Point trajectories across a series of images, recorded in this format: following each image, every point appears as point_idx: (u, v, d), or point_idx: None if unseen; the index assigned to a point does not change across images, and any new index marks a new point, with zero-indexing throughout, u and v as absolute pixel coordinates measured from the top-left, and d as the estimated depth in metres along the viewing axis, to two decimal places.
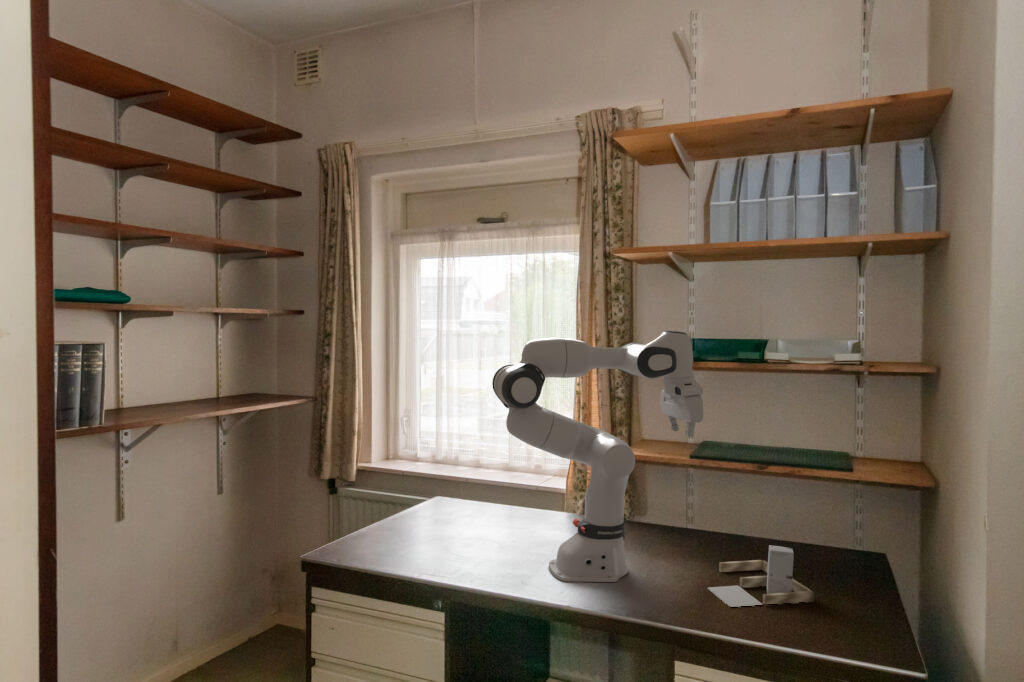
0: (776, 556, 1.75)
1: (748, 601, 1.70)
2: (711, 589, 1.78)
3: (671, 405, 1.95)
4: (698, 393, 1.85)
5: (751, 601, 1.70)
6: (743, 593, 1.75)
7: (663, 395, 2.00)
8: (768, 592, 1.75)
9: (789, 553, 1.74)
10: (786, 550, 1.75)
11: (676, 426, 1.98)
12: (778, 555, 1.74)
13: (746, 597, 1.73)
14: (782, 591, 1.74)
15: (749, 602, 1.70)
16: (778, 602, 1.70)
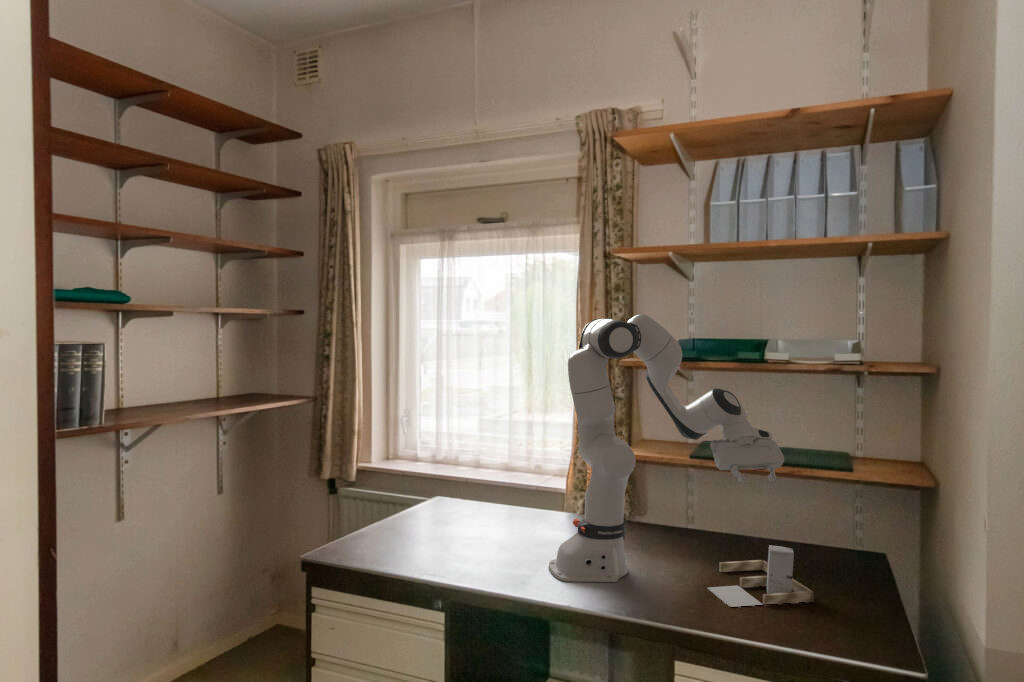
0: (776, 556, 1.75)
1: (748, 601, 1.70)
2: (711, 589, 1.78)
3: (743, 452, 1.90)
4: None
5: (751, 601, 1.70)
6: (743, 593, 1.75)
7: (724, 445, 1.91)
8: (768, 592, 1.75)
9: (789, 553, 1.74)
10: (786, 550, 1.75)
11: None
12: (778, 555, 1.74)
13: (746, 597, 1.73)
14: (782, 591, 1.74)
15: (749, 602, 1.70)
16: (778, 602, 1.70)
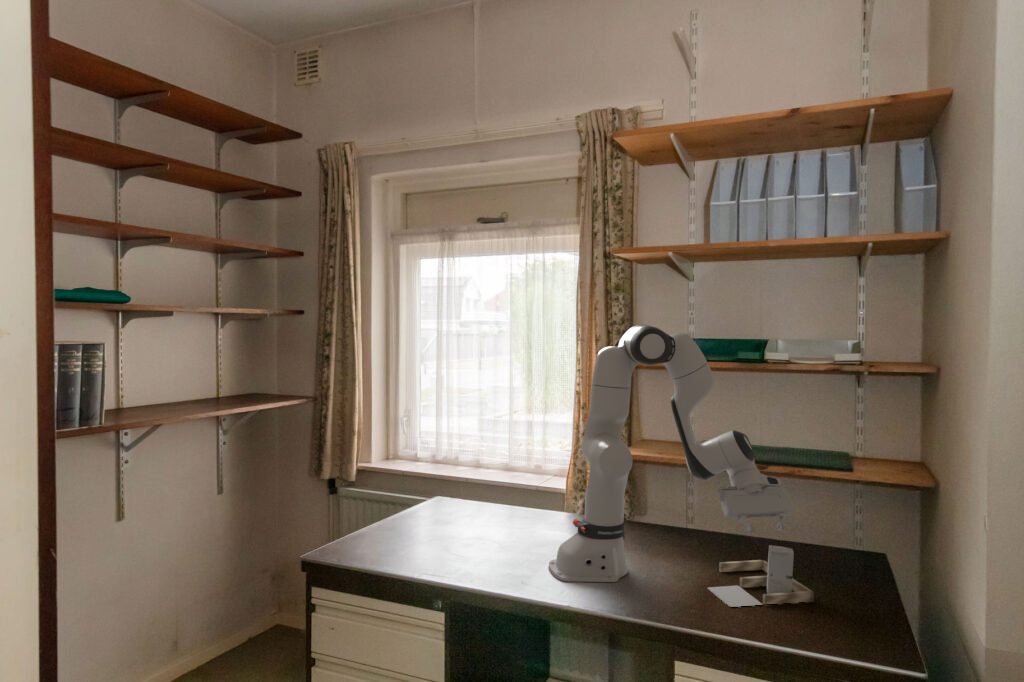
0: (776, 556, 1.75)
1: (748, 601, 1.70)
2: (711, 589, 1.78)
3: (752, 501, 1.86)
4: None
5: (751, 601, 1.70)
6: (743, 593, 1.75)
7: (732, 493, 1.87)
8: (768, 592, 1.75)
9: (789, 553, 1.74)
10: (786, 550, 1.75)
11: None
12: (778, 555, 1.74)
13: (746, 597, 1.73)
14: (782, 591, 1.74)
15: (749, 602, 1.70)
16: (778, 602, 1.70)
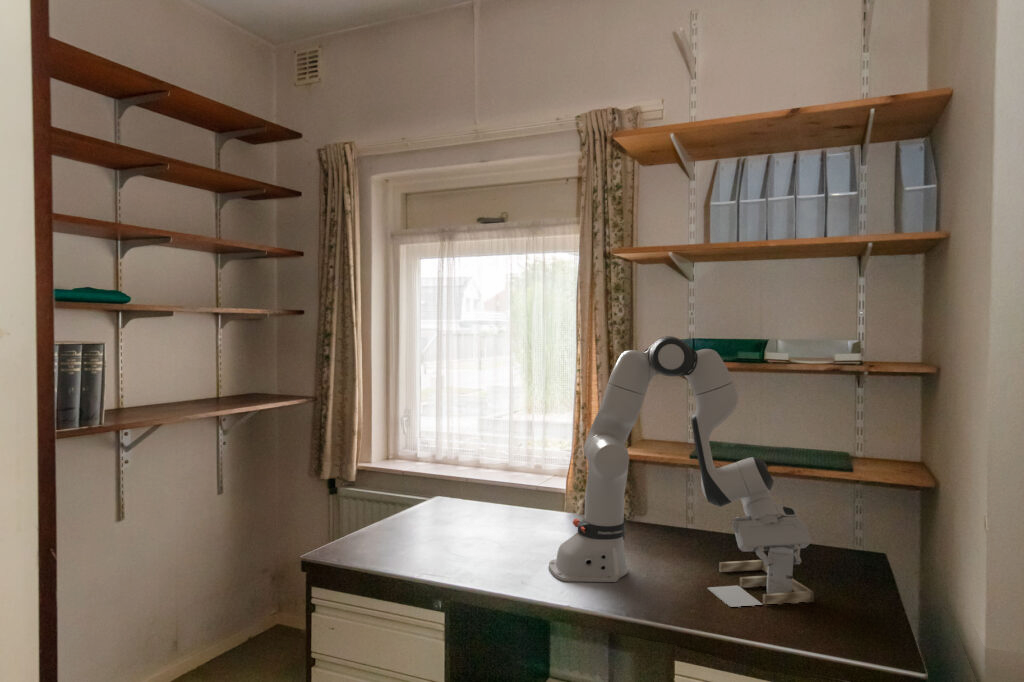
0: (776, 556, 1.75)
1: (748, 601, 1.70)
2: (711, 589, 1.78)
3: (768, 532, 1.78)
4: None
5: (751, 601, 1.70)
6: (743, 593, 1.75)
7: (747, 524, 1.79)
8: (768, 592, 1.75)
9: (789, 553, 1.74)
10: (786, 550, 1.75)
11: None
12: (778, 555, 1.74)
13: (746, 597, 1.73)
14: (782, 591, 1.74)
15: (749, 602, 1.70)
16: (778, 602, 1.70)
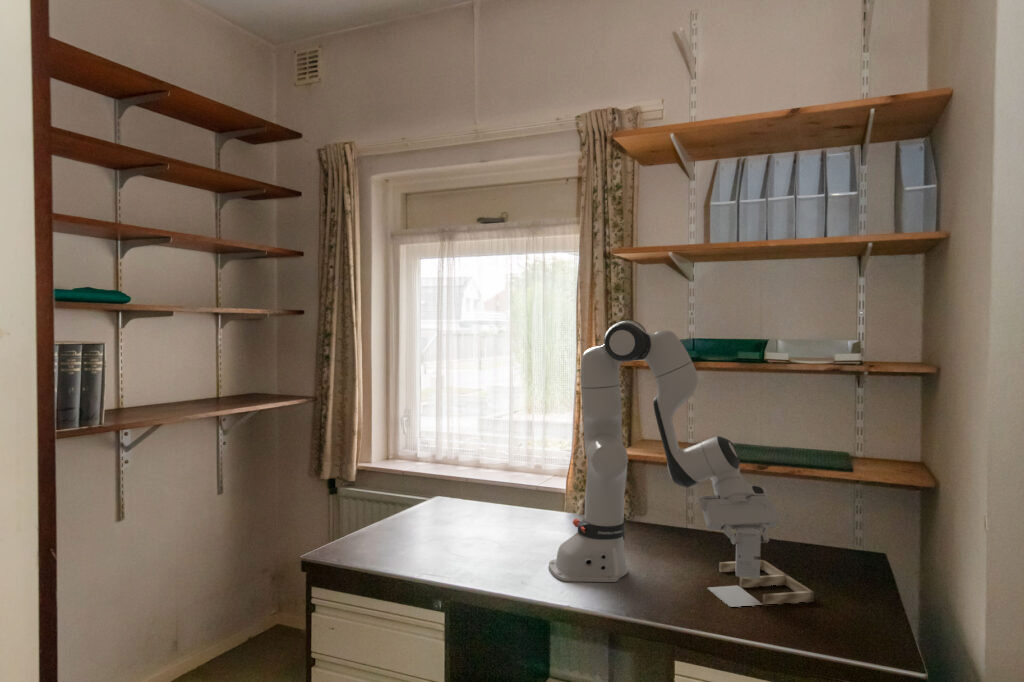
0: (743, 537, 1.73)
1: (748, 601, 1.70)
2: (711, 589, 1.78)
3: (736, 511, 1.76)
4: None
5: (751, 601, 1.70)
6: (743, 593, 1.75)
7: (715, 503, 1.77)
8: (737, 574, 1.73)
9: (756, 533, 1.72)
10: (753, 531, 1.73)
11: None
12: (745, 536, 1.72)
13: (746, 597, 1.73)
14: (750, 572, 1.72)
15: (749, 602, 1.70)
16: (778, 602, 1.70)
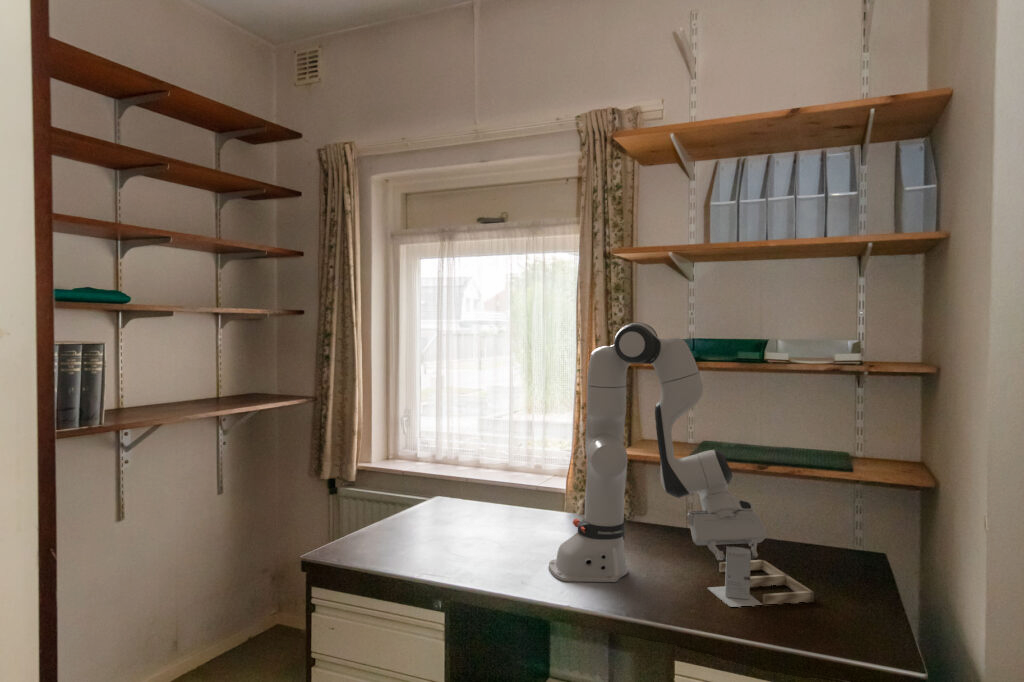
0: (733, 557, 1.72)
1: (748, 601, 1.70)
2: (711, 589, 1.78)
3: (723, 526, 1.77)
4: None
5: (751, 601, 1.70)
6: None
7: (702, 518, 1.77)
8: (726, 594, 1.73)
9: (746, 554, 1.71)
10: (743, 551, 1.72)
11: None
12: (735, 556, 1.72)
13: None
14: (740, 592, 1.72)
15: (749, 602, 1.70)
16: (778, 602, 1.70)
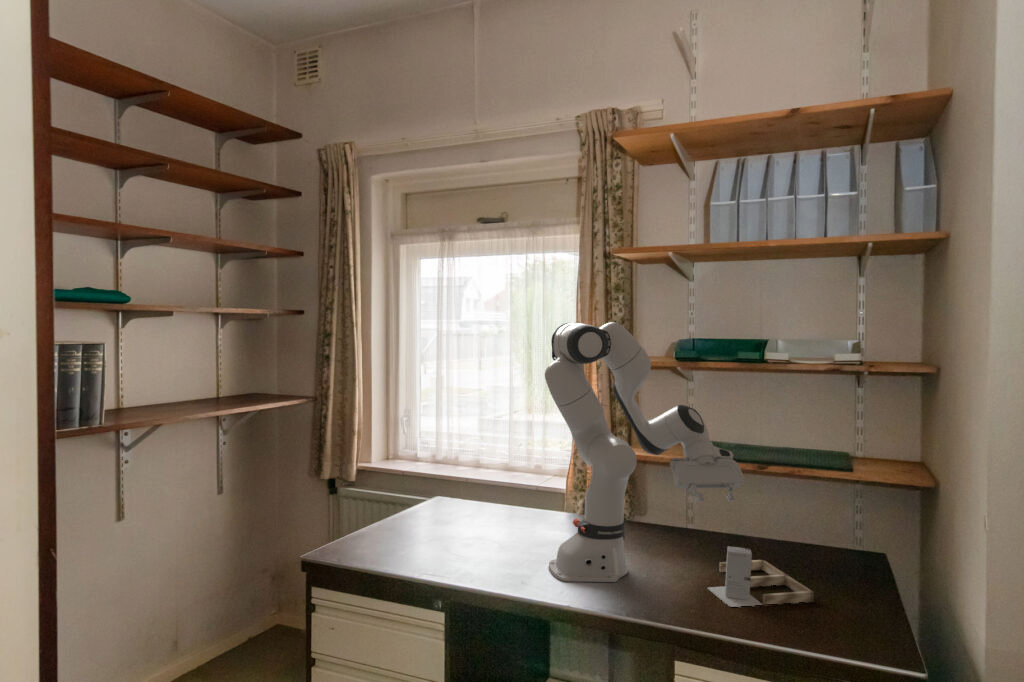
0: (734, 558, 1.72)
1: (748, 601, 1.70)
2: (711, 589, 1.78)
3: (703, 471, 1.89)
4: None
5: (751, 601, 1.70)
6: None
7: (684, 464, 1.89)
8: (726, 594, 1.73)
9: (747, 554, 1.71)
10: (744, 551, 1.72)
11: None
12: (736, 556, 1.72)
13: None
14: (740, 593, 1.72)
15: (749, 602, 1.70)
16: (778, 602, 1.70)
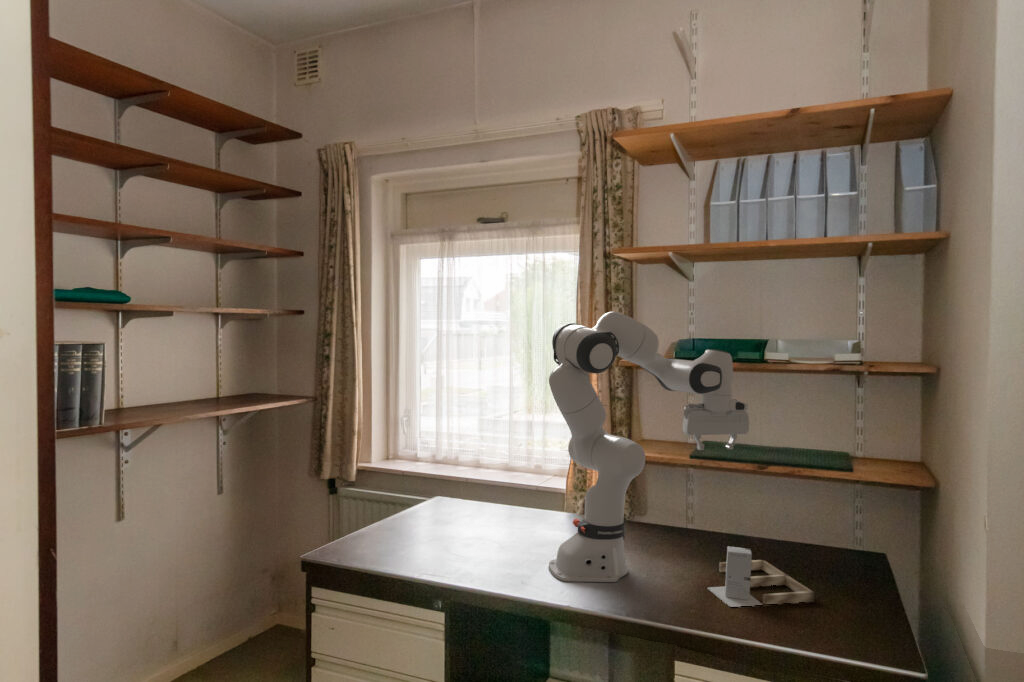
0: (734, 558, 1.72)
1: (748, 601, 1.70)
2: (711, 589, 1.78)
3: (712, 423, 1.98)
4: None
5: (751, 601, 1.70)
6: None
7: (697, 415, 1.97)
8: (726, 594, 1.73)
9: (747, 554, 1.71)
10: (744, 551, 1.72)
11: None
12: (736, 556, 1.72)
13: None
14: (740, 593, 1.72)
15: (749, 602, 1.70)
16: (778, 602, 1.70)
